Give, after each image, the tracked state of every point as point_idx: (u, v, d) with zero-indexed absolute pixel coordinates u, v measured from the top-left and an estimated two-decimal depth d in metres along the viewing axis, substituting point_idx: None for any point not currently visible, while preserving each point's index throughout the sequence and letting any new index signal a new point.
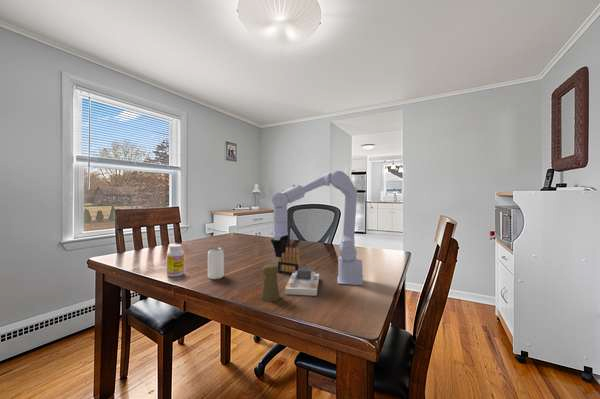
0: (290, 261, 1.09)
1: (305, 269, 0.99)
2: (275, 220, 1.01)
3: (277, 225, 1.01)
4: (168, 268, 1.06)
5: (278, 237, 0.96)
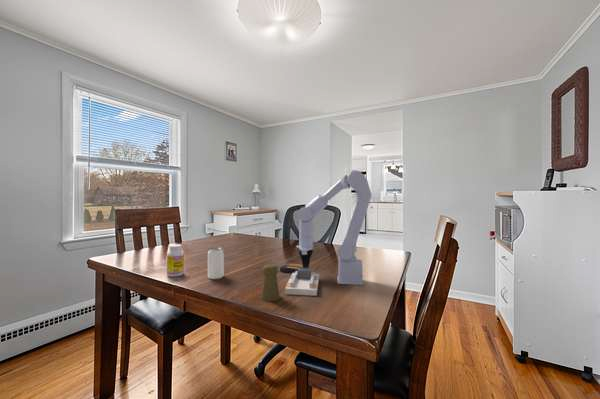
0: (298, 266, 1.16)
1: (305, 269, 0.99)
2: (300, 234, 1.04)
3: (303, 239, 1.03)
4: (168, 268, 1.06)
5: (305, 251, 0.98)
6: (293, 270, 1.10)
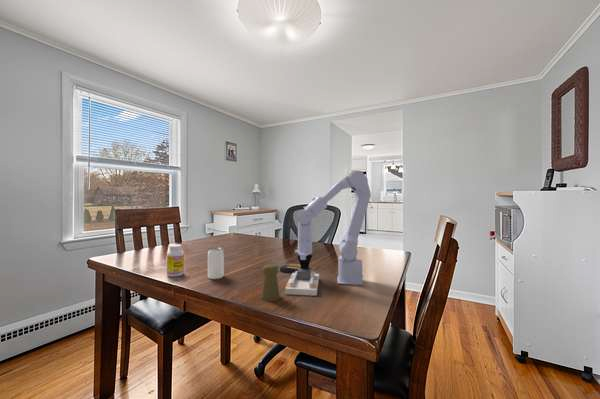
0: (298, 266, 1.16)
1: (305, 270, 0.98)
2: (300, 238, 0.99)
3: (301, 243, 0.98)
4: (168, 268, 1.06)
5: (304, 257, 0.94)
6: (293, 270, 1.10)
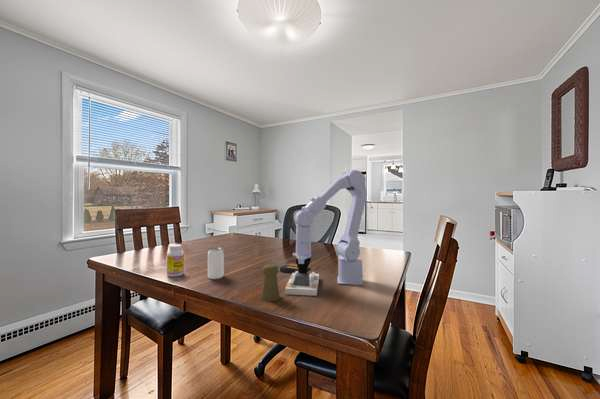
0: None
1: (303, 274, 0.92)
2: (301, 241, 0.92)
3: (300, 246, 0.93)
4: (168, 268, 1.06)
5: (302, 260, 0.88)
6: (293, 270, 1.10)
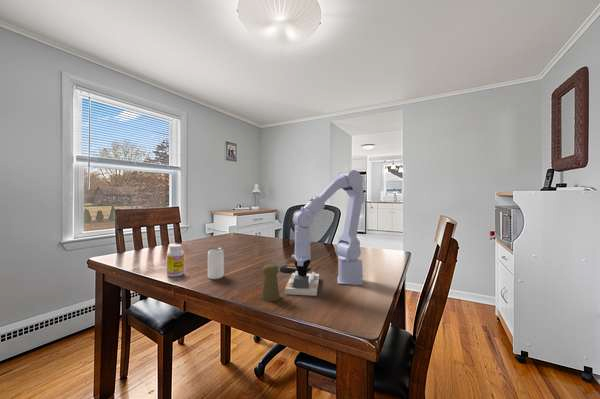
0: None
1: (302, 277, 0.89)
2: (301, 242, 0.89)
3: (299, 247, 0.90)
4: (168, 268, 1.06)
5: (302, 263, 0.85)
6: (293, 270, 1.10)
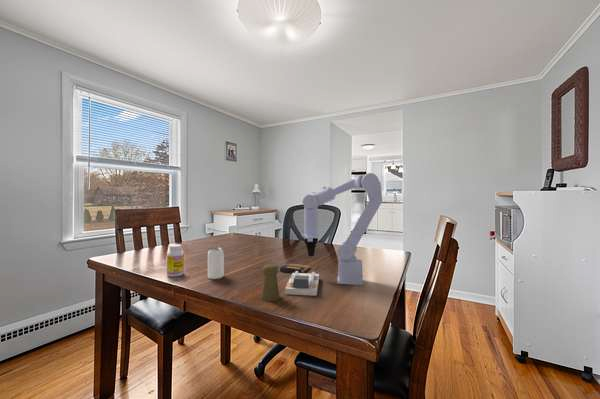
0: (298, 266, 1.16)
1: (302, 277, 0.89)
2: (305, 221, 1.03)
3: (308, 226, 1.02)
4: (168, 268, 1.06)
5: (311, 238, 0.97)
6: (293, 270, 1.10)
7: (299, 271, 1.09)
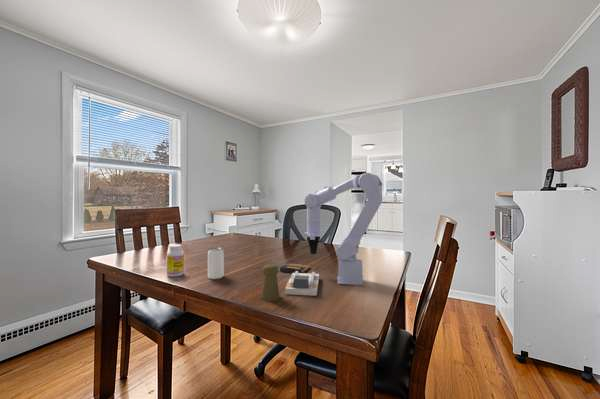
0: (298, 266, 1.16)
1: (302, 277, 0.89)
2: (307, 220, 1.06)
3: (310, 225, 1.05)
4: (168, 268, 1.06)
5: (313, 237, 1.00)
6: (293, 270, 1.10)
7: (299, 271, 1.09)
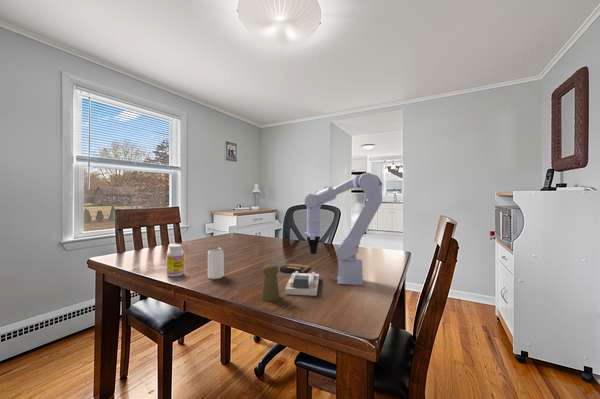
0: (298, 266, 1.16)
1: (302, 277, 0.89)
2: (307, 220, 1.06)
3: (310, 225, 1.05)
4: (168, 268, 1.06)
5: (313, 237, 1.00)
6: (293, 270, 1.10)
7: (299, 271, 1.09)
